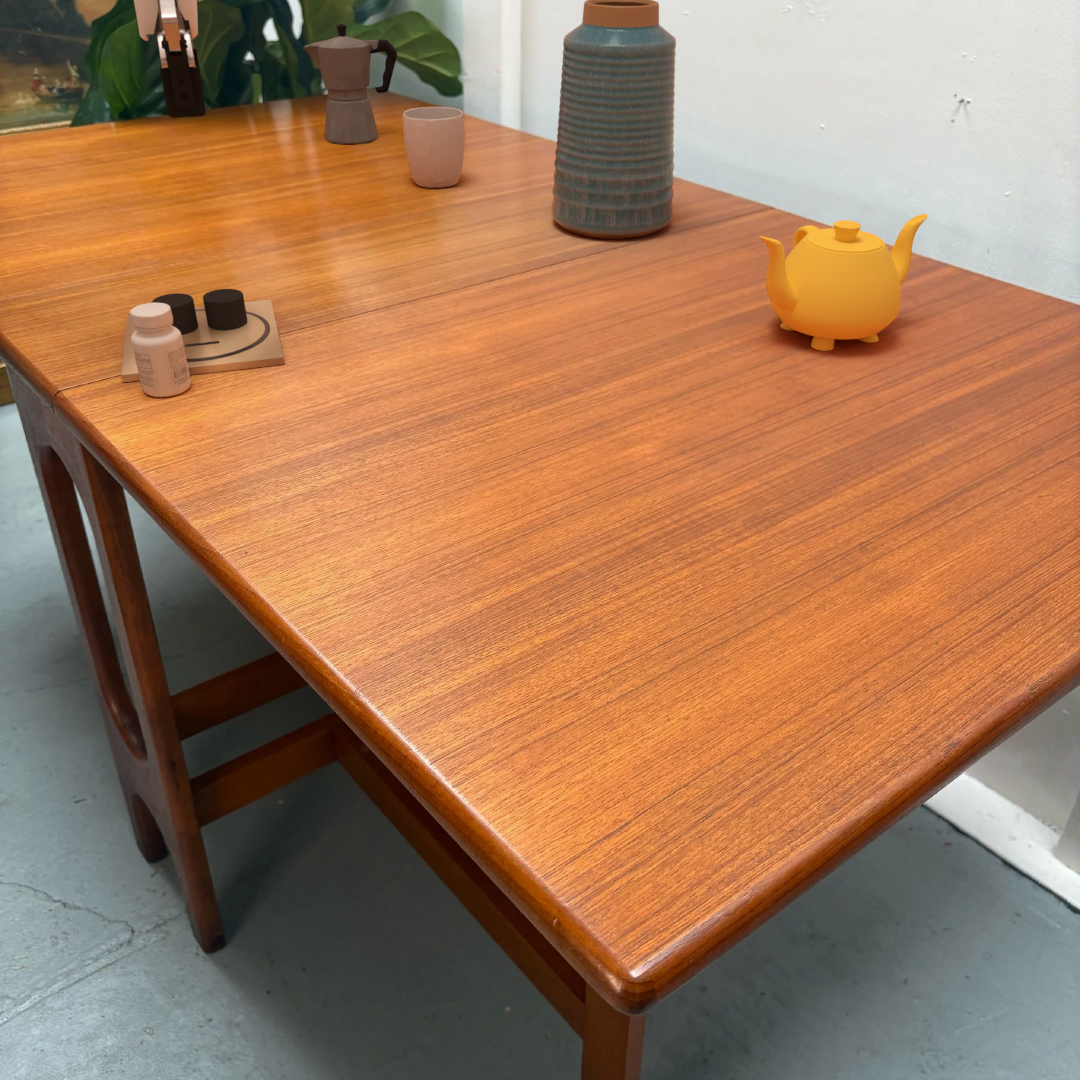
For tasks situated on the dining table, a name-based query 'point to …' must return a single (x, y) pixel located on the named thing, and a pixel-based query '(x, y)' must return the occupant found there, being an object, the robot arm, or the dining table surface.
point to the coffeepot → (350, 84)
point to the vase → (616, 123)
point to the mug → (434, 145)
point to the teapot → (839, 281)
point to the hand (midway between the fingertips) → (187, 105)
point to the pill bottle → (159, 351)
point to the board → (221, 344)
